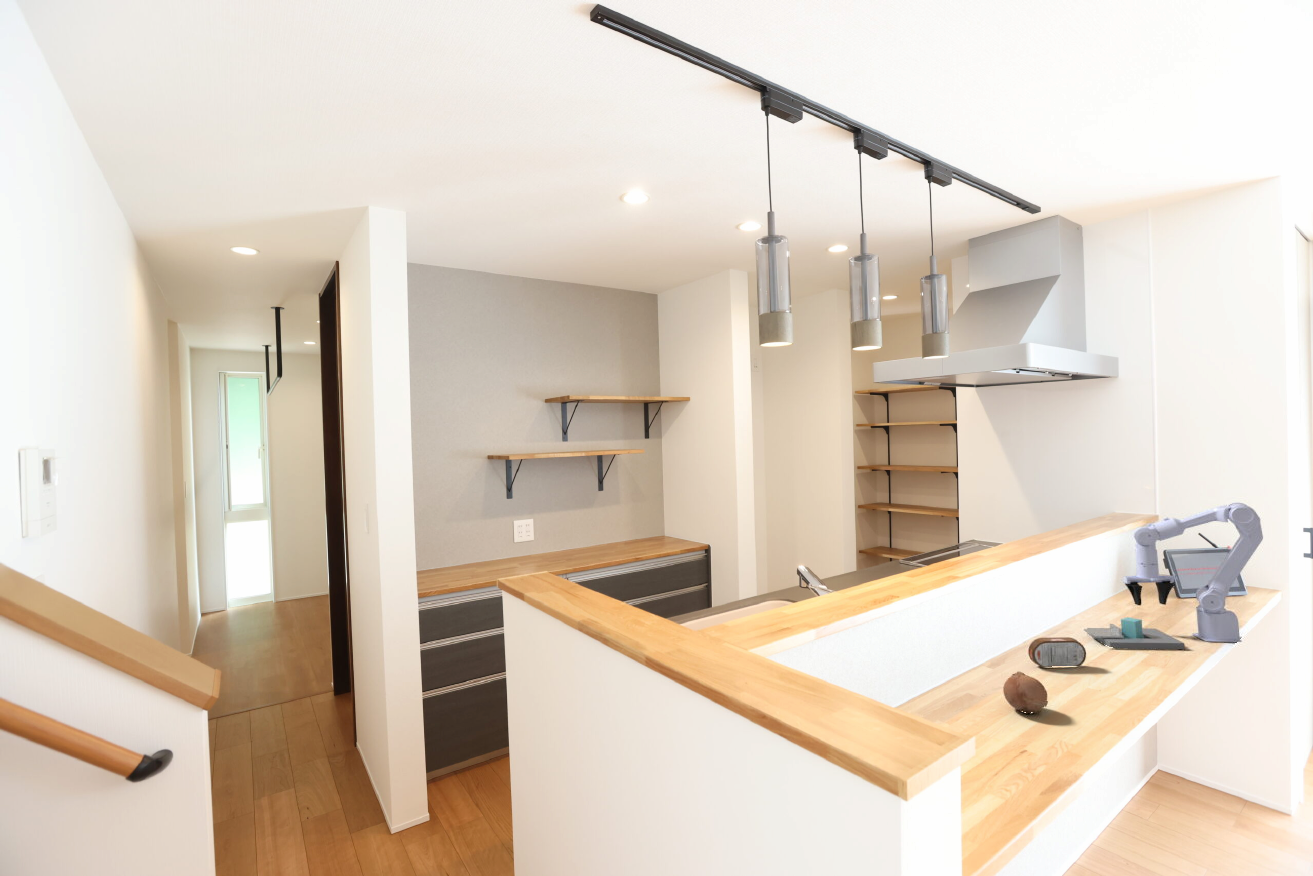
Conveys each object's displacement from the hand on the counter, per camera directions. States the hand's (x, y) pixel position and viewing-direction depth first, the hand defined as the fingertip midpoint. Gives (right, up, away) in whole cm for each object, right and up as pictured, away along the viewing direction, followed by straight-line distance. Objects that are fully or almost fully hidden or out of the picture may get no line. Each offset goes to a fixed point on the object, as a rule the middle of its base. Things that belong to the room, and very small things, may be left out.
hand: (1150, 604), depth 209 cm
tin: (-47, -12, -26) cm, 55 cm away
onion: (-73, -12, -54) cm, 92 cm away
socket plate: (-11, -10, -8) cm, 17 cm away
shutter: (-20, -8, -6) cm, 22 cm away
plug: (-12, -10, -8) cm, 17 cm away
